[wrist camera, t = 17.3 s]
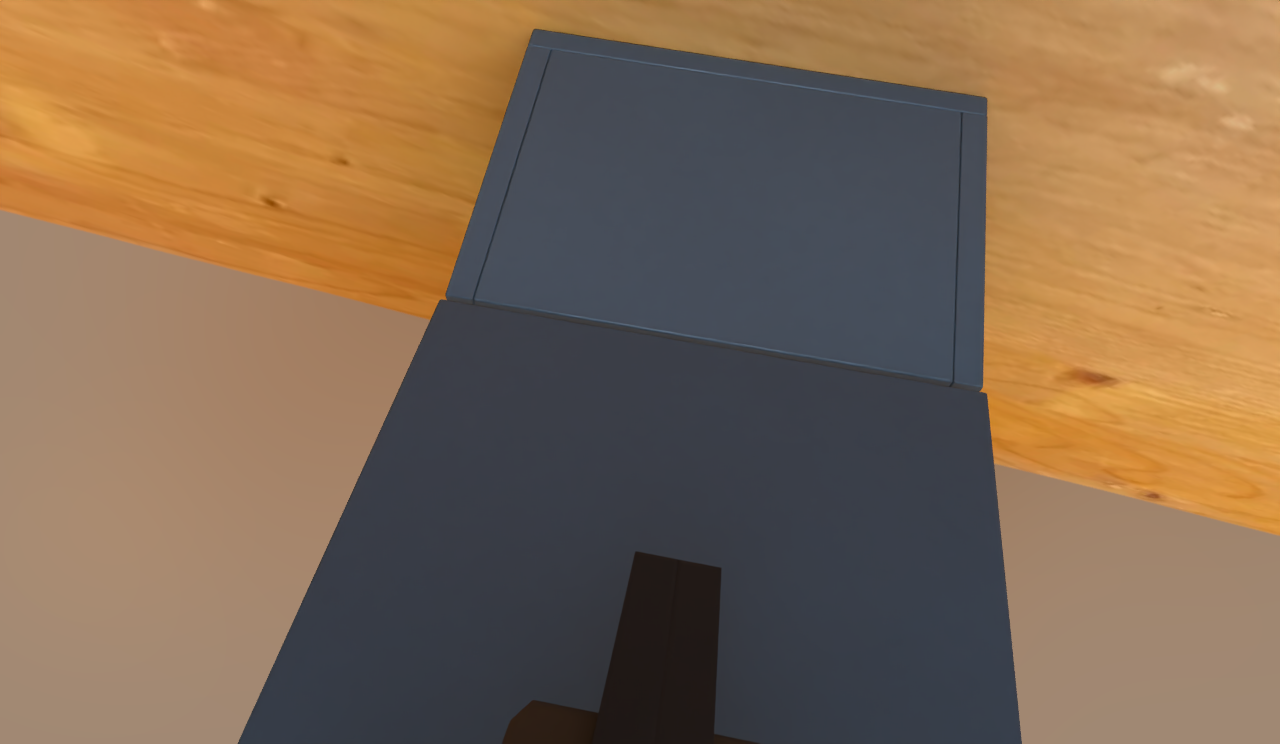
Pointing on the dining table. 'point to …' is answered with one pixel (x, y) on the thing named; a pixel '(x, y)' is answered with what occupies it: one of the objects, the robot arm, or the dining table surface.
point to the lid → (654, 544)
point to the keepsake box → (737, 209)
